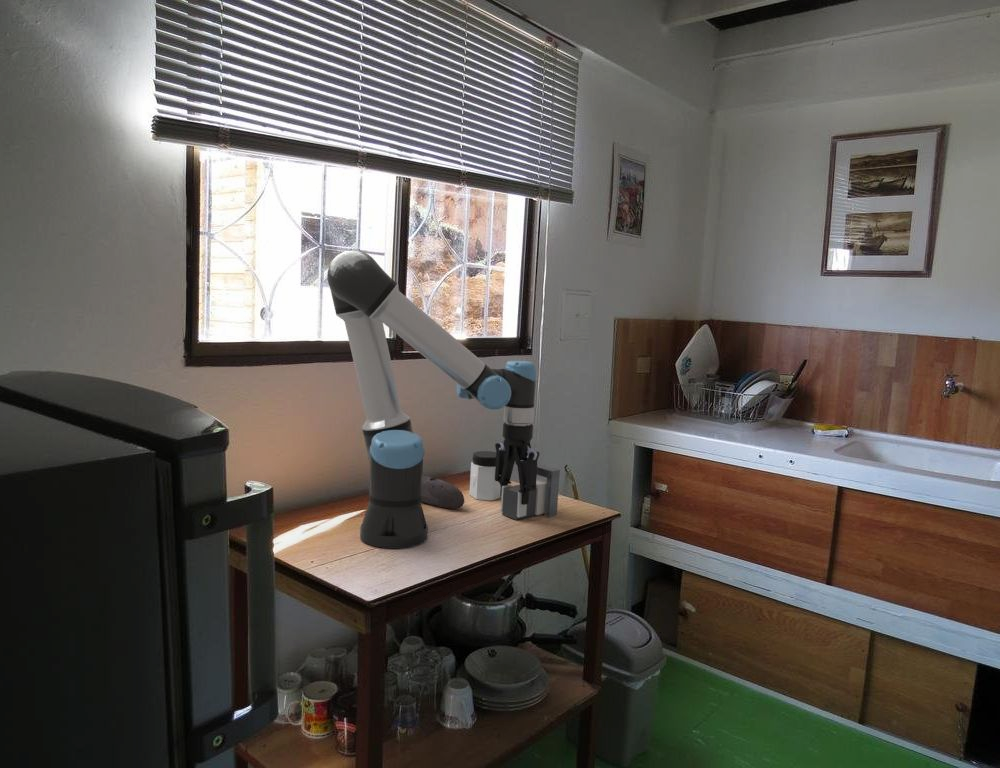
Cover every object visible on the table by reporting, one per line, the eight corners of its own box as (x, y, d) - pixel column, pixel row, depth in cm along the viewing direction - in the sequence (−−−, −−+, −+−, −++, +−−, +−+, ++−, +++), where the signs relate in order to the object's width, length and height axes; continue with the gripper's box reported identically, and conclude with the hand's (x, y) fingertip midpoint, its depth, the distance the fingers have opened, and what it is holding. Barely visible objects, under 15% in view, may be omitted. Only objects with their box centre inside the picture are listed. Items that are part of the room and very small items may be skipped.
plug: (517, 520, 177) (518, 489, 176) (500, 514, 181) (502, 483, 180) (553, 510, 186) (555, 481, 185) (537, 505, 190) (538, 476, 189)
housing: (549, 517, 181) (552, 471, 180) (518, 506, 189) (521, 462, 188) (556, 515, 183) (559, 469, 182) (526, 504, 191) (529, 461, 190)
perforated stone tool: (469, 510, 184) (470, 484, 183) (456, 514, 180) (457, 487, 179) (425, 498, 192) (426, 473, 191) (412, 502, 188) (413, 476, 187)
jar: (465, 493, 199) (467, 451, 197) (490, 490, 203) (493, 449, 201) (479, 502, 191) (481, 458, 190) (505, 499, 195) (508, 456, 193)
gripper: (555, 427, 173) (549, 519, 176) (504, 416, 186) (499, 502, 189) (533, 430, 168) (528, 525, 171) (482, 418, 181) (478, 506, 184)
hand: (513, 513), depth 180 cm, fingers closed on plug, 5 cm apart
